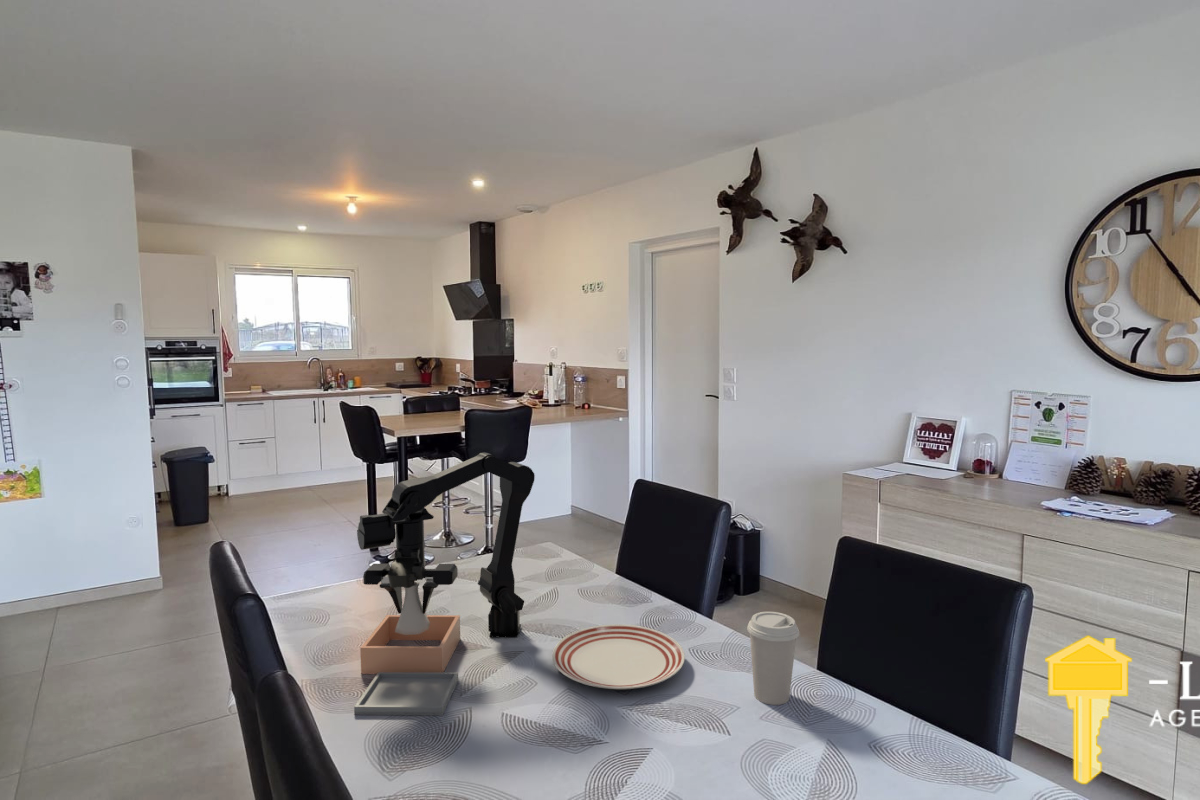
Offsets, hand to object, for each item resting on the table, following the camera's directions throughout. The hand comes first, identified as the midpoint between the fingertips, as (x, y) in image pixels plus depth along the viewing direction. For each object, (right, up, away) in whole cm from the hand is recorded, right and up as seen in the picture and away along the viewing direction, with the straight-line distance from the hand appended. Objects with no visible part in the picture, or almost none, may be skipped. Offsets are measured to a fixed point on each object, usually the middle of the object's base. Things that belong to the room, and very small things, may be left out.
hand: (412, 613), depth 147 cm
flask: (0, -4, 0) cm, 4 cm away
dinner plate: (+44, -10, -4) cm, 45 cm away
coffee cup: (+73, -11, -16) cm, 75 cm away
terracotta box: (0, -9, +1) cm, 9 cm away
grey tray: (+4, -11, -16) cm, 20 cm away
